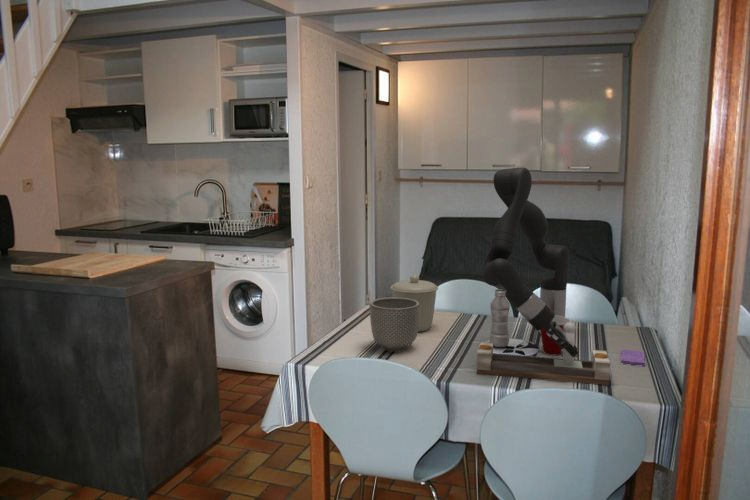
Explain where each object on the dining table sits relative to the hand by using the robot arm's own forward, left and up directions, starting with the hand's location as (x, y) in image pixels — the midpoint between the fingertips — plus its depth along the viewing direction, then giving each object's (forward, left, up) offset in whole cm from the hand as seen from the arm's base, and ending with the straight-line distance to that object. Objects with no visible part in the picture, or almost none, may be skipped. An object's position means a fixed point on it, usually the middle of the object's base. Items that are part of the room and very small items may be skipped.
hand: (575, 353), depth 185 cm
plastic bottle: (-23, -24, -7) cm, 34 cm away
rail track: (0, -10, -7) cm, 12 cm away
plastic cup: (-21, -6, -7) cm, 23 cm away
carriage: (0, -2, -5) cm, 6 cm away
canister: (-38, -57, -7) cm, 69 cm away
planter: (-13, -59, -7) cm, 61 cm away
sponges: (-20, +19, -8) cm, 29 cm away
